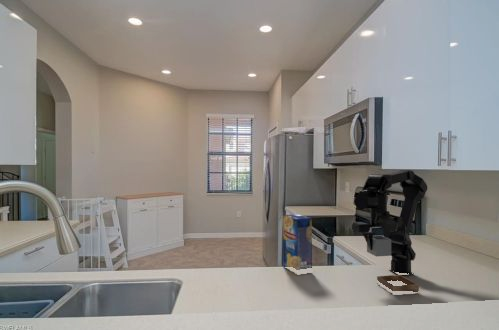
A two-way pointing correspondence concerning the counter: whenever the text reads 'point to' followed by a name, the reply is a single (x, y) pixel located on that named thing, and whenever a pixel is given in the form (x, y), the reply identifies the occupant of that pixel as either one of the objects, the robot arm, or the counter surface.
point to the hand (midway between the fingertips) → (378, 249)
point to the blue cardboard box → (297, 241)
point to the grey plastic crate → (380, 246)
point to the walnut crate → (410, 284)
